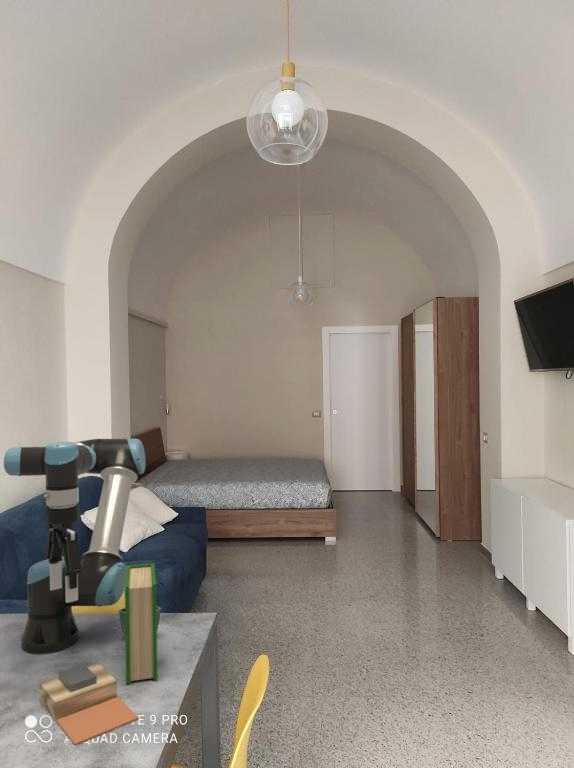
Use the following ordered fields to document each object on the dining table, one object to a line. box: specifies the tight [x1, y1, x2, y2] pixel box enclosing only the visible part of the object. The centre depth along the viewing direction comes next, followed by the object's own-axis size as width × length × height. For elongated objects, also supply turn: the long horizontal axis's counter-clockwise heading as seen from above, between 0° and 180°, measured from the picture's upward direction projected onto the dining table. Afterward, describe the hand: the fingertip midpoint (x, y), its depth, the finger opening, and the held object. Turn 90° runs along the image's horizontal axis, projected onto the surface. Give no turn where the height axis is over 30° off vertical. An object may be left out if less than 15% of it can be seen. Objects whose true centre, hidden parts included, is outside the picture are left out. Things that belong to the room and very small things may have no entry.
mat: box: [56, 696, 140, 746], centre depth 125 cm, size 11×14×1 cm
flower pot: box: [118, 605, 162, 638], centre depth 165 cm, size 9×9×9 cm
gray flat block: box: [58, 663, 97, 692], centre depth 135 cm, size 8×6×2 cm
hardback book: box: [124, 562, 158, 686], centre depth 150 cm, size 18×7×24 cm, turn 14°
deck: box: [39, 663, 118, 722], centre depth 134 cm, size 11×14×4 cm
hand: (63, 594), depth 142 cm, fingers open, 10 cm apart
